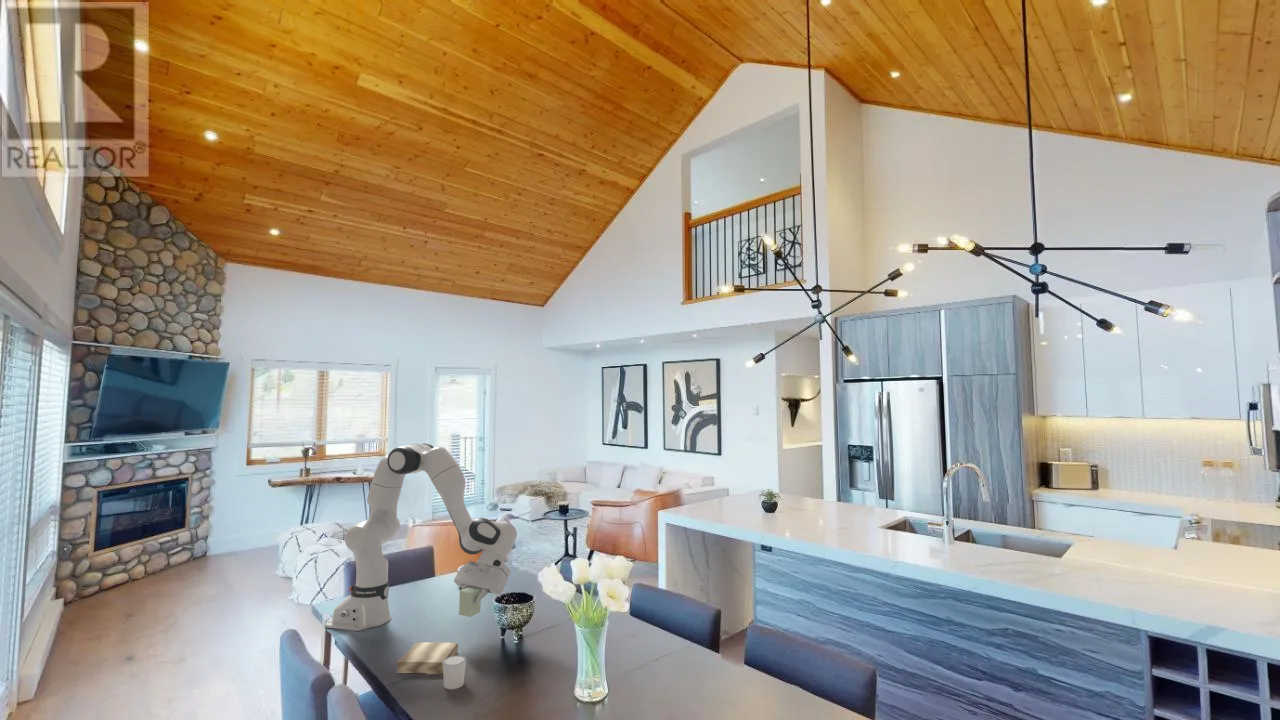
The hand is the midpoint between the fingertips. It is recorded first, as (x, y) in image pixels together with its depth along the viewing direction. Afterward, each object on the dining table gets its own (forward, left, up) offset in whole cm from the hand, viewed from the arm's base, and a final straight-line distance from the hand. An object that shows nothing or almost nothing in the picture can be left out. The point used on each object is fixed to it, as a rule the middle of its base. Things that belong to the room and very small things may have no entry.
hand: (468, 600), depth 193 cm
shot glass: (+4, -25, -16) cm, 30 cm away
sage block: (0, +1, -4) cm, 4 cm away
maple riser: (-9, -12, -16) cm, 22 cm away
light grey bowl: (-19, +64, -16) cm, 68 cm away
